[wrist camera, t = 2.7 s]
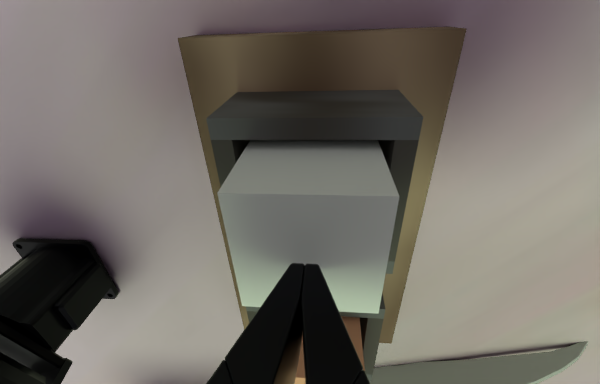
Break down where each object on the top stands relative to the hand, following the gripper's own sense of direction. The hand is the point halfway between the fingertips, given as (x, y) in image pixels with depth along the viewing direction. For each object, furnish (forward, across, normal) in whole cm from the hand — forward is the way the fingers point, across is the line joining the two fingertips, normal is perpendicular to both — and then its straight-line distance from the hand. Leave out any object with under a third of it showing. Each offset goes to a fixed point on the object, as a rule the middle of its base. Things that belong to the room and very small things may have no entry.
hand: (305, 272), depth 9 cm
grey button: (+5, 0, 0) cm, 5 cm away
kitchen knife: (+10, -9, +23) cm, 27 cm away
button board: (+10, 0, +5) cm, 11 cm away
